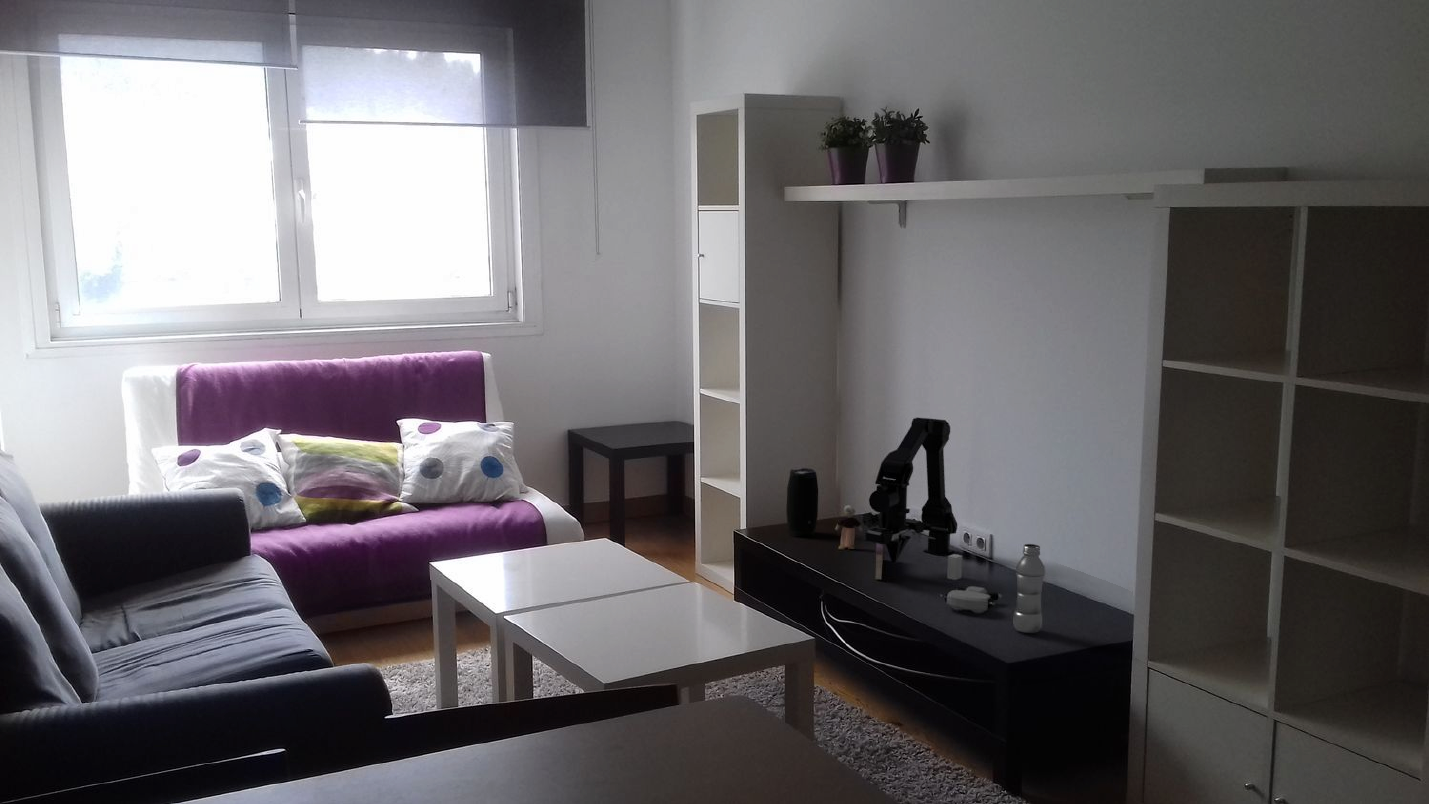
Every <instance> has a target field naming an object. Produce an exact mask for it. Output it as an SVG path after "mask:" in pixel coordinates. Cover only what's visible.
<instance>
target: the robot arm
mask: <svg viewBox="0 0 1429 804" xmlns="http://www.w3.org/2000/svg"><path fill="white" fill-rule="evenodd" d="M950 434H951V425H950V423H949V422H948V421H947V420H945V419H940V418H939V419H938V418H928V417H926V418H925V417H913V419H912V421H911V424H910V427H909V429H908V430H907V432H906V433H905V435H904V436H903V437H904V438H903V439H902V440H901V441H900V443H899V445H898V446H897V448H896V449H895V450H893V451H891V452H888V454H887V455H886V457H884V458H883V460H882V462H881V463H880V466H879V469H878V472H877V476H876V479H875V481H874V483H875V485H876V489H875V491H873V492H871V494H870V495H869V499H868V503H869V506H870V508H871V509H872V510H873V511H874V512H876V513H875V514H873V513H872V512H871V511H870V512H865V513H863V514H862V524H863V526H865V527H866V528H867V530H866V532H864V540H865V541H867V542H869V543H870V542H871V543H875V544H876V543H879V544H884V545H885V546H886V549H887V552H888V555H889V559H890V562H891V563H893V564H896V563H897V561H898V560H899V558H900V556H901V554H902V552H903V551H904V549H905V547H906V545H907V544H908V542H909V540H910V539H911V538H912V537H911V536H910V535H907V532H908V531H914V533H916V534H920V533H924V531H928V536H927V537H928V538H927V548H925V549H923V550H922V551H923V552H924V551H925V552H924V553H928V552H929V554H932V553H933V555H937V556H944V555H945V556H946V555H948V554H951V552H952V553H954V552H955V549H950V546H951V535H953V534H954V535H955V534H957V530H958V522H957V519H956V517H955V515H954V513H953V508H952V504H951V502H950V501H949V499H948V498H947V497H946V484H945V483H946V479H945V478H946V476H945V458H944V457H945V456H944V455H945V454H944V450H945V449H944V448H945V446H946V445H947V443H948V441H950ZM921 447H922V448H923V449H924V450H925V458H926V459H925V461H926V479H927V482H926V483H927V500H926V502H925V503H924V504H923V506H922V508H921V521H920V520H918V519H917V520H916V519H914V518H913V519H911V518H907V514H910V510H911V509H910V508H907V505H908V504H907V503H908V501H907V499H908V486H910V480H911V477H912V475H913V472H914V465H913V461H914V458H915V457H916V455H917V454H918V453H919V452H918V451H919V450H920V448H921ZM872 527H873V528H872Z"/></svg>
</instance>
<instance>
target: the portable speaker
mask: <svg viewBox="0 0 1429 804" xmlns="http://www.w3.org/2000/svg"><path fill="white" fill-rule="evenodd" d="M787 483H788V484H787V487H786V509H785V511H786V523H787V530H788V531H787V532H788V533H789V534H790V536H791V537H796V538H797V537H798V538H802V536H804V535H809V536H810V537H813V536H815V533H816V532H815V531H816V527H817V521H818V516H819V515H818V514H819V513H818V512H819V484H818V476H817V472H816V471H815V470H814V469H812V468H808V467H802V468H800V469H799V468H798V469H790V470H789V477H788V482H787Z"/></svg>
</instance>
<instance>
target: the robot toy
mask: <svg viewBox="0 0 1429 804" xmlns="http://www.w3.org/2000/svg"><path fill="white" fill-rule="evenodd" d="M1002 596H1003V595H1002V594H999V593H998V592H996V591H995V592H989V593H988V590H987V589H986V588H984V587H980V586H968V587H966V589H965V588H964V587H957V588H956V590H954V589H953V590H951V591H949V592H947V593H946V594H945V595H943V594H940V597H942V598H944V602H945V603H946V604H947V606H950V607H951V608H953V610H955V611H959V610H960V611H963V610H966V611H967V610H969V611H972V612H973V613H975V614H982V613H984V612H986V611H987V610H989V609H992V608H993V606H995V605H996V603H995V601H998V600H999V599H1001V598H1002ZM960 611H959V612H960Z"/></svg>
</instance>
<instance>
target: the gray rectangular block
mask: <svg viewBox="0 0 1429 804" xmlns="http://www.w3.org/2000/svg"><path fill="white" fill-rule="evenodd" d="M962 567H963V555H960V554H957V553H956V554H955V553H953V554H951V555H948V556H947V571H946V572H947V575H946V576H947V577H946V579H949V580H953V581H957V580H959V579H962V574H963V573H962V571H963V569H962Z"/></svg>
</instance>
